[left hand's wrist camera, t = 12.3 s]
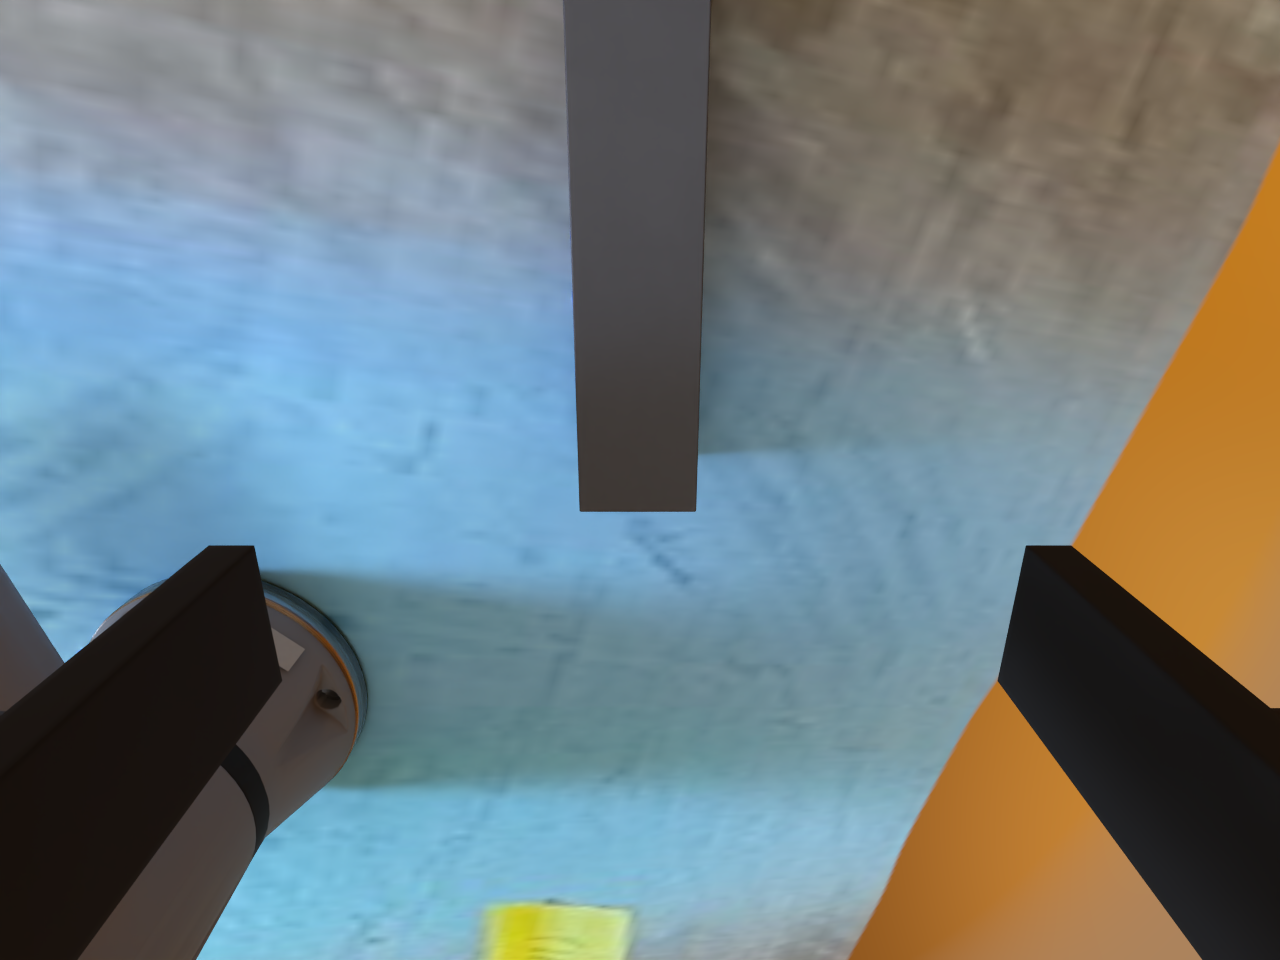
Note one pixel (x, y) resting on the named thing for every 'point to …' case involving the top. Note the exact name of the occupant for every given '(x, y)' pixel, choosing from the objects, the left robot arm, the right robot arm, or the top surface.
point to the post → (637, 245)
